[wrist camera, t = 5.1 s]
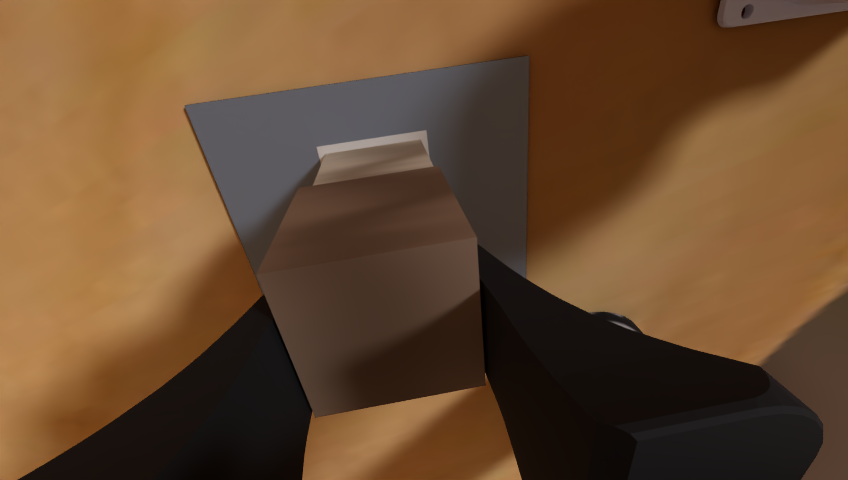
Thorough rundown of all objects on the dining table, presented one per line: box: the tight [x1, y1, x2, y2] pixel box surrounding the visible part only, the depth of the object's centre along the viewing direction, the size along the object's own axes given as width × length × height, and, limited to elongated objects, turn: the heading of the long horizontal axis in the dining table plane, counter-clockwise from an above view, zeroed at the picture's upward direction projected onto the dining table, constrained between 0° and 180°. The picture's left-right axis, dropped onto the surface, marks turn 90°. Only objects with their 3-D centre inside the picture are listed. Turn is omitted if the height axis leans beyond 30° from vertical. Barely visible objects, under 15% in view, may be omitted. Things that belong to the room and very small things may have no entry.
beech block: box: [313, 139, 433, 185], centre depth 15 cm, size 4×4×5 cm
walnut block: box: [256, 166, 486, 418], centre depth 10 cm, size 4×4×5 cm
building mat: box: [185, 56, 529, 295], centre depth 19 cm, size 14×14×1 cm
